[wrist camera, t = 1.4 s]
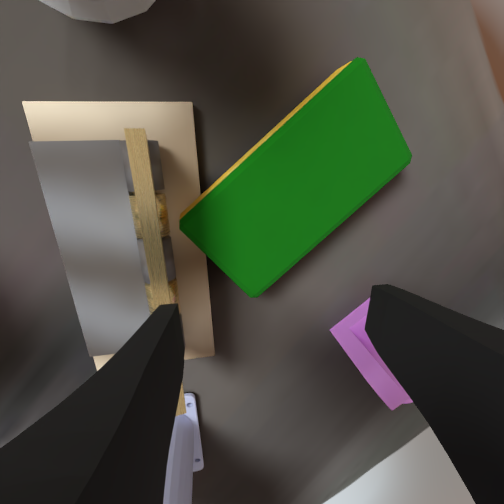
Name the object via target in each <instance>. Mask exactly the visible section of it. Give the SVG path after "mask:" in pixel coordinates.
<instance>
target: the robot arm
mask: <svg viewBox="0 0 504 504" xmlns="http://www.w3.org/2000/svg"><path fill="white" fill-rule="evenodd" d="M364 330H365V331H366V333H367V335H368V337H369V339H370V341H371V343H372V345H373V346H374V348H375V350H376V351H377V353H378V355H379V356H380V357H381V359H382V360H383V362H384V363H385V364H386V366H387V367H388V369H389V370H390V371H391V373H392V374H393V375H394V377H395V378H396V379H397V381H398V382H399V383H400V385H401V386H402V387H403V389H404V390H405V391H406V393H407V394H408V396H409V397H410V398H411V400H412V401H413V402H414V404H415V405H416V406H417V408H418V409H419V410H420V412H421V413H422V415H423V416H424V418H425V419H426V421H427V422H428V423H429V425H430V427H431V428H432V430H433V431H434V433H435V435H436V436H437V438H438V440H439V441H440V443H441V445H442V446H443V448H444V449H445V451H446V453H447V454H448V456H449V458H450V459H451V461H452V463H453V464H454V466H455V468H456V470H457V471H458V473H459V475H460V477H461V478H462V480H463V482H464V484H465V485H466V487H467V489H468V491H469V492H470V494H471V496H472V498H473V500H474V501H475V503H476V504H504V330H502V329H499V328H496V327H494V326H491V325H488V324H486V323H483V322H481V321H478V320H475V319H473V318H470V317H468V316H465V315H463V314H460V313H458V312H455V311H453V310H451V309H448V308H446V307H443V306H441V305H439V304H436V303H434V302H432V301H429V300H427V299H424V298H422V297H420V296H417V295H415V294H413V293H410V292H408V291H405V290H403V289H400V288H397V287H395V286H391V285H388V284H385V285H374V286H372V291H371V296H370V302H369V307H368V312H367V318H366V323H365V329H364ZM184 354H185V347H184V340H183V334H182V327H181V321H180V314H179V308H178V303H174V304H163V305H159V306H158V307H157V308H156V309H155V311H154V312H153V313H152V314H151V315H150V316H149V317H148V319H147V320H146V321H145V322H144V323H143V324H142V325H141V327H140V328H139V329H138V330H137V331H136V332H135V333H134V334H133V335H132V337H131V338H130V339H129V340H128V341H127V342H126V343H125V344H124V345H123V346H122V347H121V348H120V349H119V350H118V351H117V352H116V353H115V354H114V355H113V356H112V357H111V358H110V359H109V360H108V361H107V362H106V363H105V364H104V365H103V366H102V367H101V368H100V369H99V370H98V371H97V372H96V373H95V374H94V375H93V376H92V377H91V378H89V379H88V380H87V381H86V382H85V383H84V384H83V385H81V386H80V387H79V388H78V389H77V390H76V391H74V392H73V393H72V394H71V395H70V396H69V397H67V398H66V399H65V400H64V401H62V402H61V403H60V404H59V405H58V406H56V407H55V408H54V409H52V410H51V411H50V412H48V413H47V414H46V415H44V416H43V417H42V418H41V419H39V420H38V421H37V422H35V423H34V424H33V425H31V426H30V427H29V428H27V429H26V430H25V431H23V432H22V433H21V434H20V435H18V436H17V437H16V438H14V439H13V440H11V441H10V442H9V443H7V444H6V445H4V446H3V447H2V448H0V504H192V484H193V472H195V471H200V470H202V469H203V467H204V461H203V453H202V445H201V438H200V430H199V422H198V414H197V407H196V399H195V395H194V394H193V393H185V394H184V397H185V405H186V413H185V414H182V415H179V416H176V411H177V406H178V401H179V395H180V390H181V385H182V379H183V369H184ZM189 403H190V404H189Z"/></svg>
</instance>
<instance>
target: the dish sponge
mask: <svg viewBox="0 0 504 504" xmlns="http://www.w3.org/2000/svg"><path fill="white" fill-rule="evenodd" d="M411 157H412V154H411V152H410V150H409V148H408V146H407V144H406V142H405V140H404V138H403V136H402V134H401V132H400V129H399V127H398V125H397V123H396V121H395V119H394V117H393V115H392V113H391V111H390V109H389V107H388V105H387V103H386V101H385V99H384V97H383V95H382V93H381V90H380V88H379V86H378V84H377V82H376V80H375V78H374V76H373V74H372V72H371V70H370V68H369V66H368V64H367V62H366V60H365V59H363V58H358V57H357V58H355V59H354V60H353V61H350V62H349V63H347V64H345V65H344V66H342V67H340V68H339V69H337V70H336V71H335V72H334V73H333V74H331V75H330V76H329V77H328V78H327V79H326V80H325V81H324V82H323V83H322V84H321V85H320V86H318V87H317V88H316V89H315V90H314V91H313V92H312V93H311V94H310V95H309V96H308V97H307V98H305V99H304V100H303V101H302V102H301V103H300V104H299V105H298V106H297V107H296V108H295V109H294V110H292V111H291V112H290V113H289V114H288V115H287V116H286V117H285V118H284V119H283V120H282V121H280V122H279V123H278V124H277V125H276V126H275V127H274V128H273V129H272V130H271V131H270V132H269V133H267V134H266V135H265V136H264V137H263V138H262V139H261V140H260V141H259V142H258V143H257V144H256V145H254V146H253V147H252V148H251V149H250V150H249V151H248V152H247V153H246V154H245V155H244V156H243V157H241V158H240V159H239V160H238V161H237V162H236V163H235V164H234V165H233V166H232V167H231V168H230V169H228V170H227V171H226V172H225V173H224V174H223V175H222V176H221V177H220V178H219V179H218V180H216V181H215V182H214V183H213V184H212V185H211V186H210V187H209V188H208V189H207V190H206V191H205V192H203V193H202V194H201V195H200V196H199V197H198V198H197V199H196V200H195V201H194V202H193V203H192V204H190V205H189V206H188V207H187V208H186V209H185V210H184V211H183V212H182V213H181V214H180V220H179V229H180V230H181V231H182V232H183V233H184V234H185V235H186V236H187V237H188V238H189V239H190V240H191V241H192V242H193V243H194V244H195V245H196V246H197V247H198V248H199V249H200V250H201V251H202V252H203V253H205V254H206V255H207V256H208V257H209V258H210V259H211V260H212V261H213V262H214V263H215V264H216V265H217V266H218V267H219V268H220V269H221V270H222V271H223V272H224V273H225V274H226V275H227V276H228V277H230V278H231V279H232V280H233V281H234V282H235V283H236V284H237V285H238V286H239V287H240V288H241V289H242V290H243V291H244V292H245V293H246V294H247V295H248V296H249V297H250V298H253V297H258V296H260V295H261V294H262V293H263V292H264V291H265V290H266V289H267V288H269V287H270V286H271V285H272V284H273V283H274V282H275V281H277V280H278V279H279V278H280V277H281V276H282V275H283V274H285V273H286V272H287V271H288V270H289V269H290V268H291V267H292V266H294V265H295V264H296V263H297V262H298V261H299V260H300V259H302V258H303V257H304V256H305V255H306V254H307V253H308V252H310V251H311V250H312V249H313V248H314V247H315V246H316V245H317V244H319V243H320V242H321V241H322V240H323V239H324V238H325V237H327V236H328V235H329V234H330V233H331V232H332V231H333V230H335V229H336V228H337V227H338V226H339V225H340V224H341V223H342V222H344V221H345V220H346V219H347V218H348V217H349V216H350V215H352V214H353V213H354V212H355V211H356V210H357V209H358V208H360V207H361V206H362V205H363V204H364V203H365V202H366V201H367V200H369V199H370V198H371V197H372V196H373V195H374V194H375V193H377V192H378V191H379V190H380V189H381V188H382V187H383V186H385V185H386V184H387V183H388V182H389V181H390V180H391V179H392V178H394V177H395V176H396V175H397V174H398V173H399V172H400V171H402V170H403V169H404V168H405V167H406V166H407V165H408V164H410V161H411Z"/></svg>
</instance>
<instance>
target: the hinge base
mask: <svg viewBox="0 0 504 504" xmlns="http://www.w3.org/2000/svg"><path fill="white" fill-rule="evenodd" d="M22 103H23V107H24V110H25V114H26V118H27V121H28V125H29V128H30V132H31V136H32V139H33V141H28V142H29V145H30V149H31V152H32V156H33V159H34V163H35V166H36V170H37V173H38V177H39V180H40V184H41V187H42V191H43V194H44V198H45V201H46V205H47V208H48V212H49V215H50V219H51V222H52V226H53V229H54V233H55V236H56V240H57V243H58V247H59V250H60V254H61V257H62V261H63V264H64V268H65V271H66V275H67V278H68V282H69V285H70V289H71V293H72V296H73V300H74V303H75V307H76V310H77V314H78V317H79V321H80V324H81V328H82V331H83V335H84V338H85V342H86V345H87V349H88V352H89V356H90V357H94V361H95V365H96V368H97V371H98V370H99V369H100V368H101V367H102V366H103V365H104V364H105V363H106V362H107V361H108V360H109V359H110V358H111V357H112V356H113V355H114V354H115V353H116V352H117V351H118V350H119V349H120V348H121V347H122V346H123V345H124V344H125V343H126V342H127V341H128V340H129V339H130V338H131V337H132V335H133V334H134V333H135V332H136V331H137V330H138V329H139V328H140V327H141V325H142V324H143V323H144V322H145V321H146V320H147V319H148V317H149V316H150V312H149V306H148V300H147V295H146V289H145V283H147V284H150V279H149V273H148V267H147V261H146V256H145V250H144V244H143V239H139V238H136V234H135V228H134V222H133V217H132V211H131V206H130V200H129V196H130V195H134V194H135V191H134V185H133V180H132V174H131V168H130V162H129V156H128V150H127V145H126V139H125V133H124V128H145V131H146V135H147V140H148V147H149V154H150V161H151V168H152V175H153V181H154V188H155V193H165V195H166V203H167V210H168V218H169V225H170V234H169V235H168V236H165V237H162V243H163V250H164V257H165V264H166V271H167V277H168V282H169V281H171V280H173V279H174V278H175V277H176V279H177V285H178V293H179V300H180V308H181V313H180V321H181V327H182V334H183V340H184V347H185V354H184V360H186V359H193V358H201V357H208V356H215V349H214V338H213V327H212V315H211V304H210V293H209V282H208V271H207V260H206V254H205V253H203V252H202V251H201V250H200V249H199V248H198V247H197V246H196V245H195V244H194V243H193V242H192V241H191V240H190V239H189V238H188V237H187V236H186V235H185V234H184V233H183V232H182V231H181V230H180V229H179V220H180V214H181V213H182V212H183V211H184V210H185V209H186V208H187V207H188V206H189V205H190V204H192V203H193V202H194V201H195V200H196V199H197V198H198V197H199V196H200V195H201V193H200V182H199V170H198V159H197V148H196V137H195V126H194V115H193V104H192V102H49V101H22Z"/></svg>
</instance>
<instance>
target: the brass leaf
mask: <svg viewBox="0 0 504 504" xmlns="http://www.w3.org/2000/svg"><path fill="white" fill-rule="evenodd" d="M124 133H125V139H126V145H127V150H128V156H129V162H130V168H131V174H132V180H133V185H134V191H135V194H134V195H130V196H129V200H130V206H131V211H132V217H133V222H134V228H135V234H136V238H139V239H143V244H144V250H145V256H146V261H147V267H148V273H149V279H150V284H147V283H145V289H146V295H147V300H148V306H149V312H150V315H151V314H152V313H153V312H154V311H155V309H156V308H157V307H158V306H159V305H163V304H174V303H178V308H179V314H180V313H181V308H180V300H179V293H178V285H177V279H176V277H175V278H174V279H173V280H171V281H169V282H168V277H167V271H166V264H165V257H164V250H163V243H162V237H165V236H168V235H169V234H170V225H169V218H168V210H167V203H166V195H165V193H155V188H154V181H153V175H152V168H151V161H150V154H149V147H148V140H147V135H146V131H145V128H124ZM185 413H186V405H185V397H184V390H183V382H182V385H181V390H180V395H179V401H178V406H177V411H176V416H179V415H182V414H185Z"/></svg>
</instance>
